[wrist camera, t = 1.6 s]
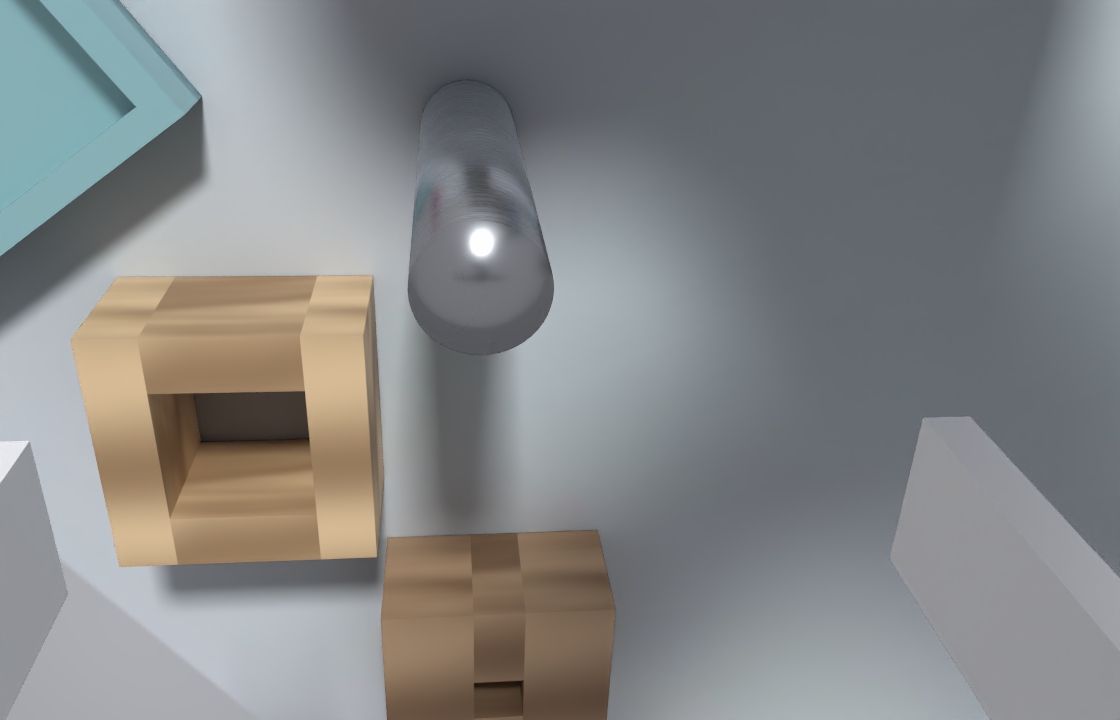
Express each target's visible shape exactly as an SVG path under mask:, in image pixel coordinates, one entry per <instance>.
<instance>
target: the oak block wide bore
mask: <svg viewBox="0 0 1120 720" xmlns="http://www.w3.org/2000/svg"><path fill="white" fill-rule="evenodd" d="M71 345H72V350H73V354H74V359H75V363H76V368H77V373H78V377H79V382H80V387H81V391H82V396H83V400H84V405H85V410H86V414H87V419H88V424H89V428H90V433H91V437H92V442H93V447H94V451H95V456H96V460H97V465H98V470H99V474H100V479H101V484H102V488H103V493H104V497H105V502H106V507H107V511H108V516H109V520H110V525H111V530H112V534H113V539H114V544H115V548H116V553H117V557H118V562H119V567H132V566H158V565H184V564H211V563H237V562H264V561H290V560H317V559H343V558H370V557H377V552H378V541H379V530H380V519H381V508H382V497H383V487H384V466H383V448H382V430H381V412H380V394H379V376H378V358H377V340H376V322H375V304H374V286H373V276H234V277H117V278H116V279H115V281H114V282H113V283H112V285H111V286H110V287H109V289H108V290H107V291H106V293H105V294H104V295H103V297H102V298H101V299H100V301H99V302H98V303H97V305H96V306H95V307H94V309H93V310H92V311H91V313H90V314H89V315H88V317H87V318H86V319H85V321H84V322H83V323H82V325H81V326H80V327H79V329H78V330H77V331H76V333H75V334H74V336H73V337H72V338H71ZM284 391H305V397H306V408H307V418H308V429H309V439H302V440H261V441H220V442H201V439H200V433H199V426H198V420H197V413H196V407H195V401H194V394H193V393H232V392H284Z"/></svg>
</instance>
